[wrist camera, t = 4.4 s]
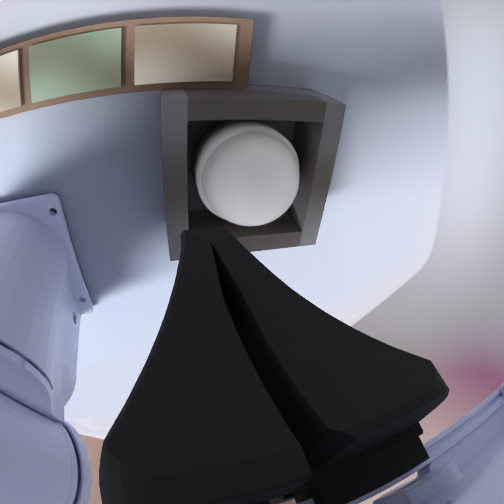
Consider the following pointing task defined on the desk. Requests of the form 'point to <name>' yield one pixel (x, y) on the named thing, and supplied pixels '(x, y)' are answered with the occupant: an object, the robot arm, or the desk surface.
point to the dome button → (246, 172)
